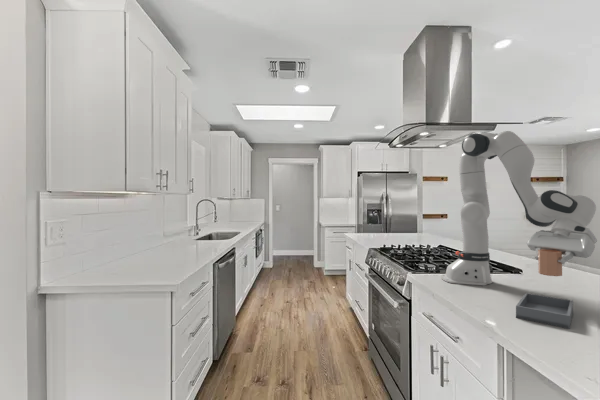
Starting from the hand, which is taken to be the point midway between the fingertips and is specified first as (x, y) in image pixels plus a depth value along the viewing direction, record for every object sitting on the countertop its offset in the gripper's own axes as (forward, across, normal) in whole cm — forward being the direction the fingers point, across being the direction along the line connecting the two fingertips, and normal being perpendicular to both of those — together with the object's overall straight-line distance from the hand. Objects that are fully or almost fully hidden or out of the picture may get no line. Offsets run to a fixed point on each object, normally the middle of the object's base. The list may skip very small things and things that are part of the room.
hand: (548, 260), depth 117 cm
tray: (+17, +3, +8) cm, 19 cm away
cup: (+3, 0, +4) cm, 5 cm away
